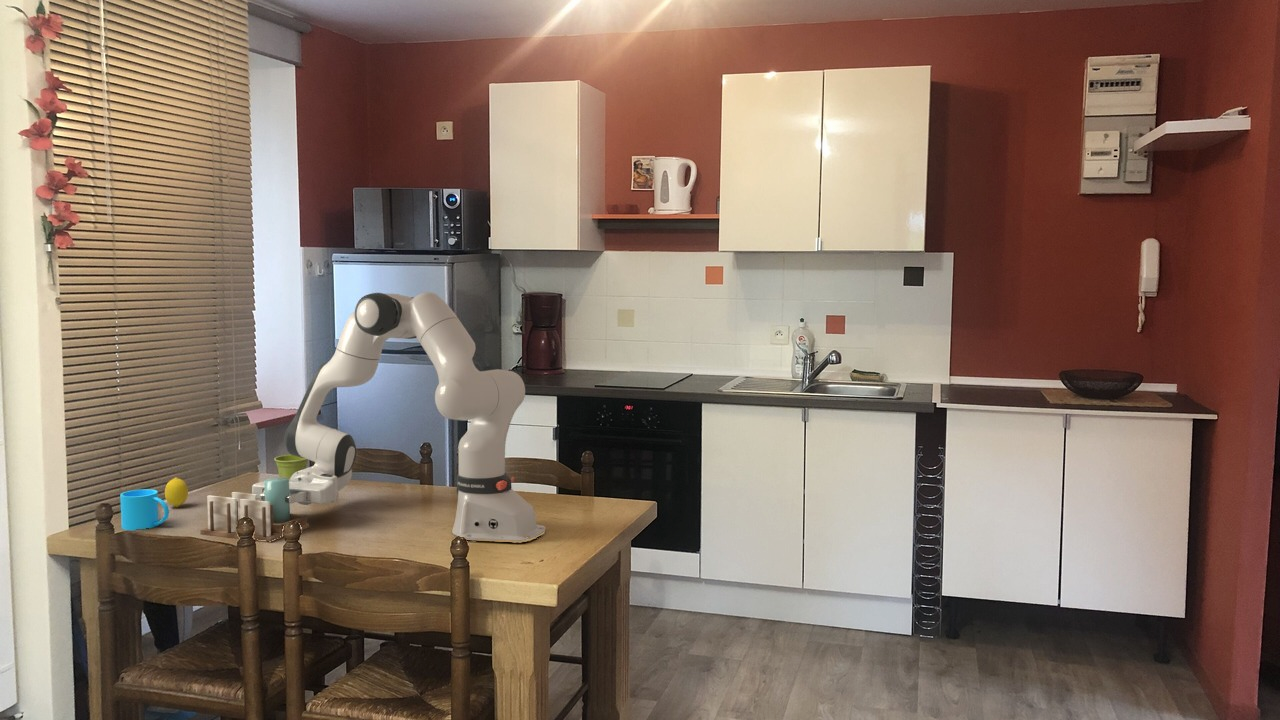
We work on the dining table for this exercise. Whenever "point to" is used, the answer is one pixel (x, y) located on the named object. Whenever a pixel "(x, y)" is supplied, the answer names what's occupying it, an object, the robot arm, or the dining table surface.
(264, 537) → the rack
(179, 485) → the lemon
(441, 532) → the dining table surface
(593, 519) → the dining table surface
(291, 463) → the plant pot
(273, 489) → the teal glossy cylinder
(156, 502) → the mug
